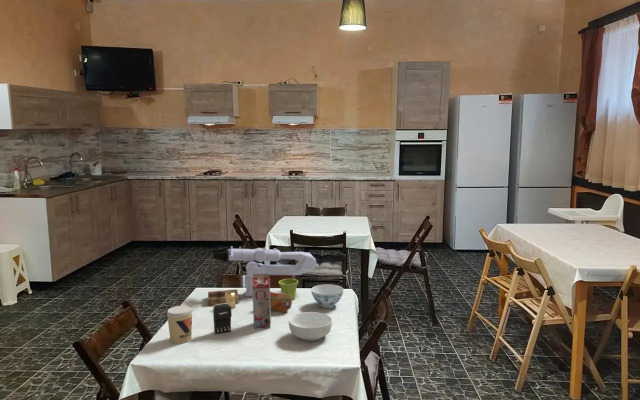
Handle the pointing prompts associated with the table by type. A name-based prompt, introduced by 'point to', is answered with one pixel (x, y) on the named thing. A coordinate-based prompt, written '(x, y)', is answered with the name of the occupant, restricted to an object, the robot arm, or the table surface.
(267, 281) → the juice carton
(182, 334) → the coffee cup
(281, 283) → the plant pot
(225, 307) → the battery charger
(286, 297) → the tin
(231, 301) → the bushing
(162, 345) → the table surface
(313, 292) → the chinaware
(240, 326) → the table surface
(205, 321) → the table surface
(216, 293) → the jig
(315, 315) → the cereal bowl
